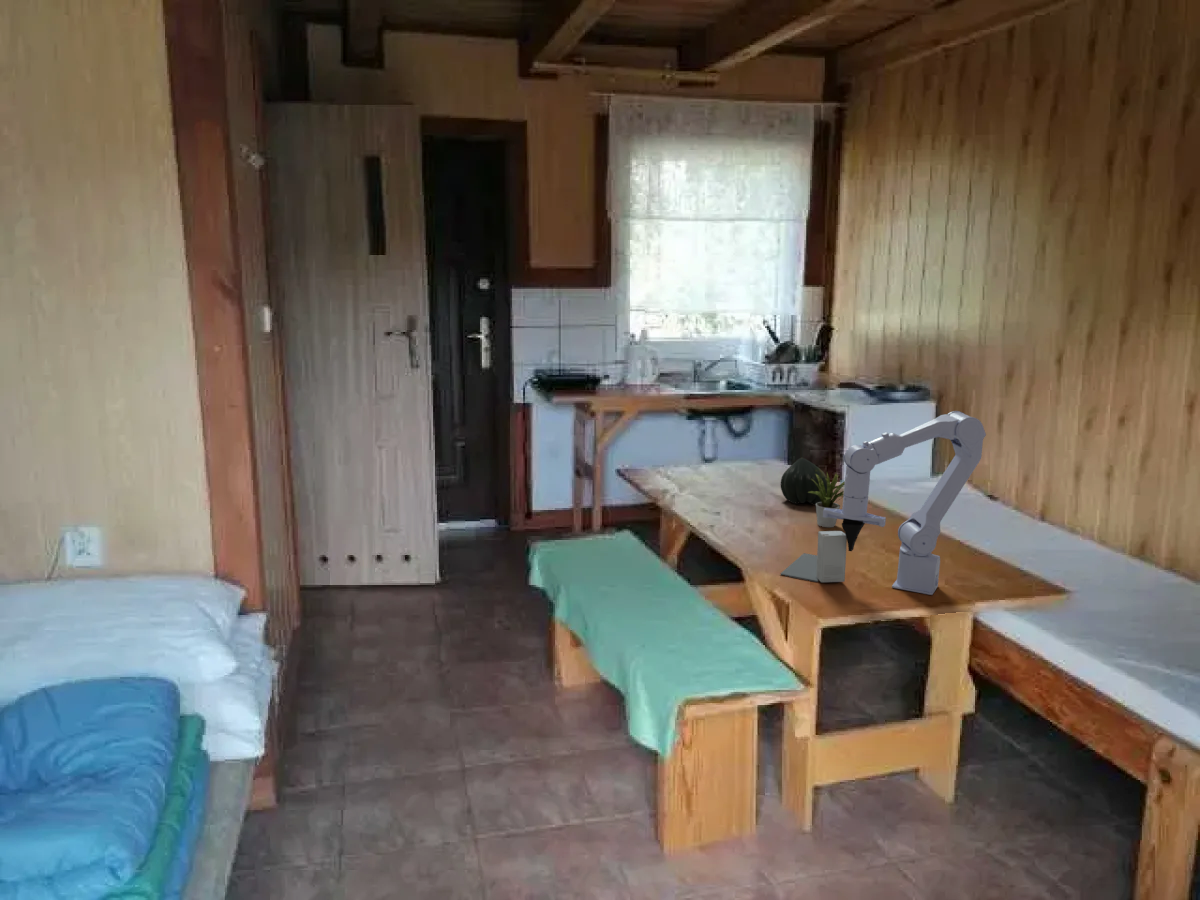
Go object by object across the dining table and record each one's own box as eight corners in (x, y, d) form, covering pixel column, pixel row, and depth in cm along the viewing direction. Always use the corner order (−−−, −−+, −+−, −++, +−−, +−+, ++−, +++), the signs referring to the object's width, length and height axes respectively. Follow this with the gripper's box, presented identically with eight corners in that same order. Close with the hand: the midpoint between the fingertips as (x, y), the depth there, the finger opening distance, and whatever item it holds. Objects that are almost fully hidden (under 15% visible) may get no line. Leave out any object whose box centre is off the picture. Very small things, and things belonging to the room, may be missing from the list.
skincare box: (838, 576, 232) (841, 529, 229) (845, 582, 227) (848, 535, 225) (814, 577, 231) (817, 530, 229) (820, 583, 227) (823, 535, 224)
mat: (839, 560, 245) (839, 559, 245) (817, 582, 229) (817, 580, 228) (803, 554, 250) (803, 553, 250) (780, 575, 233) (780, 573, 233)
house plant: (853, 535, 269) (858, 480, 265) (804, 531, 271) (809, 476, 268) (850, 521, 282) (855, 469, 279) (804, 517, 285) (808, 465, 282)
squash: (824, 495, 291) (828, 454, 298) (776, 492, 296) (781, 451, 303) (826, 515, 303) (830, 475, 310) (780, 512, 307) (785, 473, 314)
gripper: (890, 496, 222) (884, 551, 225) (830, 487, 229) (825, 540, 232) (884, 503, 216) (878, 558, 219) (822, 493, 223) (817, 548, 226)
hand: (850, 550), depth 225 cm, fingers closed
